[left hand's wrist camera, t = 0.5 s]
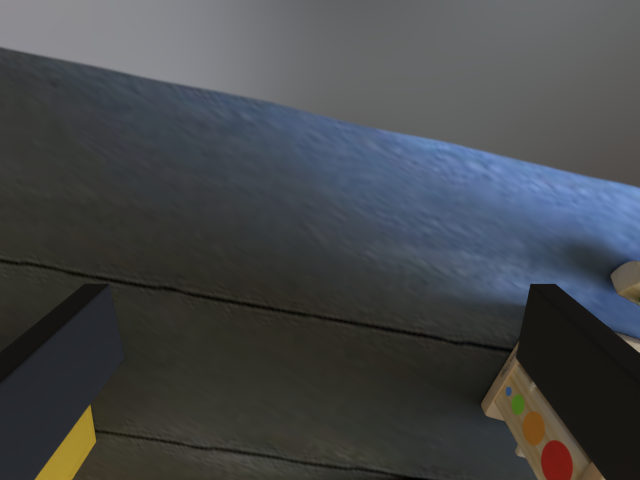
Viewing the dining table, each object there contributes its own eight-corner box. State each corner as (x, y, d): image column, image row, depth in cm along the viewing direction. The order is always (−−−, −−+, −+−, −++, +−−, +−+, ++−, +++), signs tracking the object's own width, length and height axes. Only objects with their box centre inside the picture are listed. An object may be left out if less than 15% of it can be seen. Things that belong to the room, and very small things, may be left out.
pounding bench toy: (578, 238, 41) (758, 340, 24) (695, 278, 42) (941, 400, 26) (478, 406, 48) (561, 573, 32) (580, 435, 50) (712, 608, 33)
